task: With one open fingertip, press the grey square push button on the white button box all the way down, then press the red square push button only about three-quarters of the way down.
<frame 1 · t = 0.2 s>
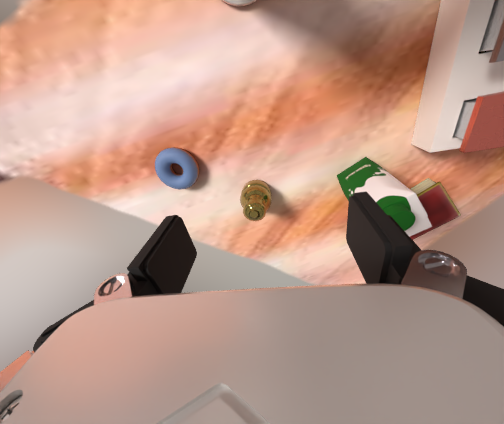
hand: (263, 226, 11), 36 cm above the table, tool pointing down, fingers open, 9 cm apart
milk carton: (357, 177, 47), on the table
doughnut: (180, 165, 49), on the table
red square push button: (485, 117, 33), point 7 cm above the table, slide at 0.0 cm
hardcover book: (394, 216, 53), on the table
white button box: (462, 74, 36), on the table
gold rounded piece: (256, 192, 52), on the table
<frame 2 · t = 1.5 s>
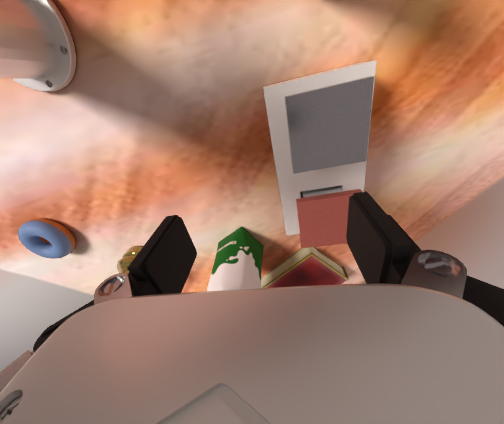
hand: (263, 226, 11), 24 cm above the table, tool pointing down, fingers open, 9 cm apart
milk carton: (241, 243, 45), on the table
grey square push button: (321, 125, 24), point 7 cm above the table, slide at 0.0 cm
doughnut: (56, 232, 46), on the table
red square push button: (323, 210, 30), point 7 cm above the table, slide at 0.0 cm
hardcover book: (293, 276, 50), on the table
white button box: (311, 155, 33), on the table
gold rounded piece: (144, 255, 48), on the table
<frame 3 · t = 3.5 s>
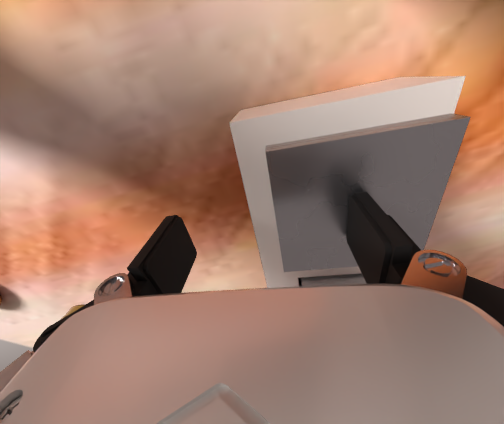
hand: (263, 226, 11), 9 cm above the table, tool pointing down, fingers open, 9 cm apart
grey square push button: (335, 186, 13), point 6 cm above the table, slide at 1.0 cm, touching gripper
red square push button: (334, 307, 19), point 7 cm above the table, slide at 0.0 cm
white button box: (317, 211, 22), on the table
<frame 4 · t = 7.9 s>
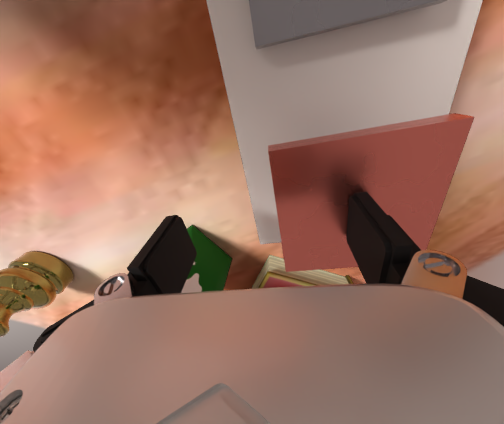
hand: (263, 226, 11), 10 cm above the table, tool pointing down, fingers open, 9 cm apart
milk carton: (196, 253, 27), on the table
red square push button: (337, 186, 13), point 7 cm above the table, slide at 0.5 cm, touching gripper
hardcover book: (279, 302, 33), on the table
white button box: (315, 79, 16), on the table
gold rounded piece: (51, 266, 31), on the table
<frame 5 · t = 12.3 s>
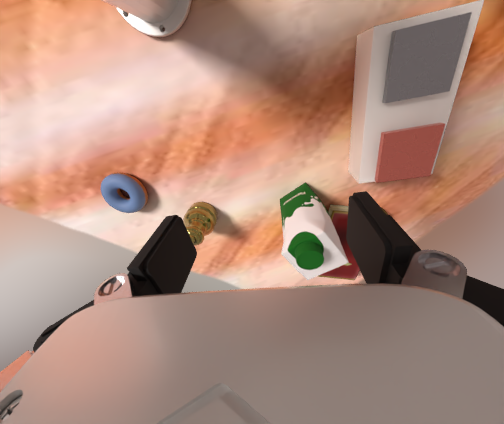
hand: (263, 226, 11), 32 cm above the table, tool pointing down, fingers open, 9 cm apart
milk carton: (300, 201, 47), on the table
grey square push button: (409, 64, 29), point 4 cm above the table, slide at 3.0 cm
doughnut: (130, 189, 49), on the table
red square push button: (397, 149, 34), point 5 cm above the table, slide at 2.1 cm
hardcover book: (341, 238, 53), on the table
white button box: (388, 107, 36), on the table
gold rounded piece: (203, 213, 51), on the table
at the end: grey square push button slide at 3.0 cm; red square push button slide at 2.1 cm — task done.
